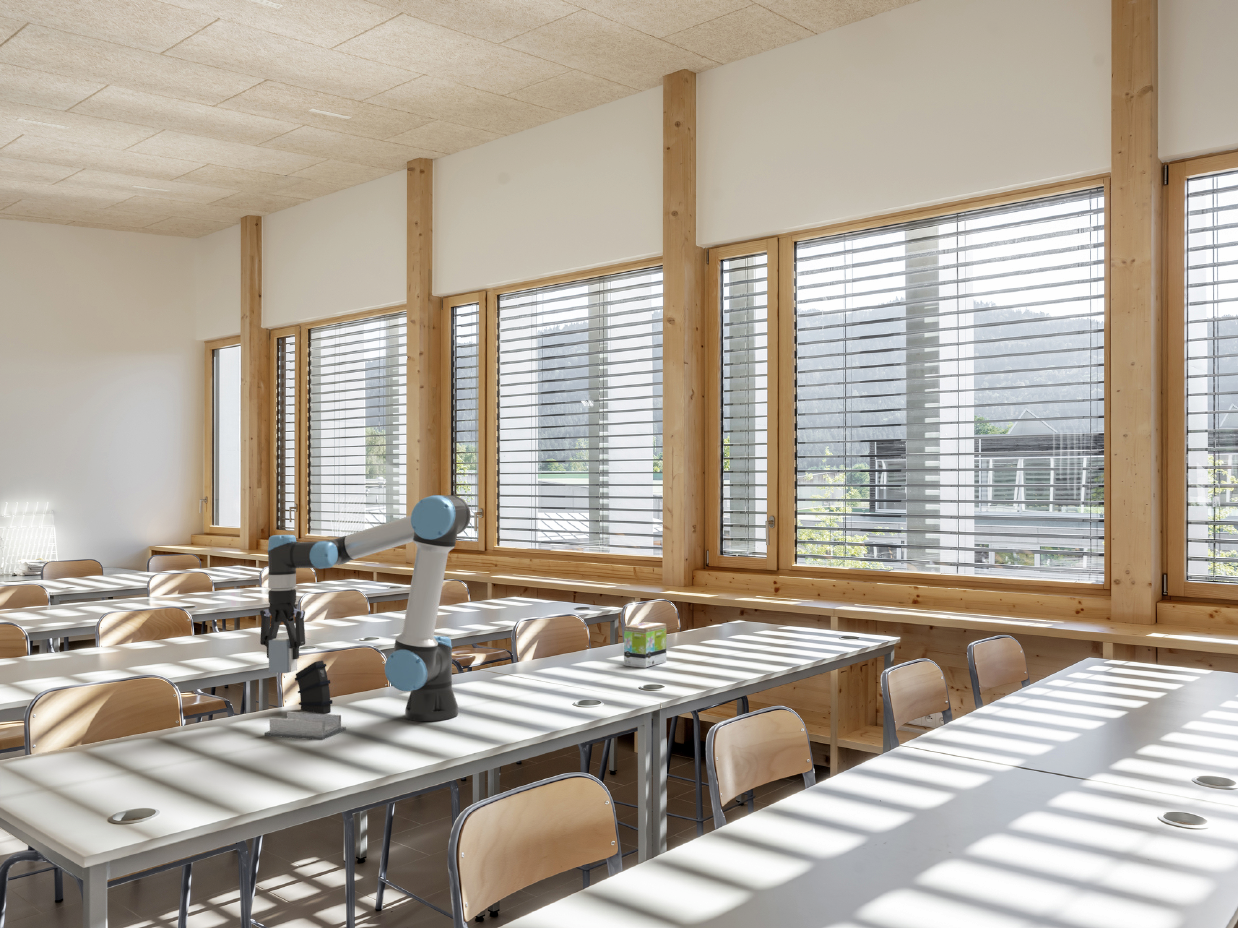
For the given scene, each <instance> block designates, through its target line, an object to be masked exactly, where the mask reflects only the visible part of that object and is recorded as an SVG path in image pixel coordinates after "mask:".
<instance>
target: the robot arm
mask: <svg viewBox="0 0 1238 928" xmlns="http://www.w3.org/2000/svg"><path fill="white" fill-rule="evenodd" d="M471 518H472V517H471V510H470V507H469V505H468V503H467V502H466V501H465V500H464V499H463V498H462V497H459V496H457V495H452V494H447V495H438V494H433V495H430V496H426V497H424V498H422V499H421V500H419V501H418V502H417V503H416V504H415V505H414V506H413V509H412V511H411V515H408V516H404V517H401V518H399V519H395V520H392V521H390V522H386V523H383V524H378V525H375V526H373V527H370V528H369V527H368V528H366V529H362V530H359V531H356V532H353V533H350V534H347V535H344V536H339V537H337V538H334V539H328V540H327V539H326V540H318V541H317V540H316V541H297V539H296V536H295V535H294V534H275V535H271V536H269V538H268V543H267V546H268V547H267V559H268V561H267V562H268V574H267V577H268V578H267V582H268V583H267V585H268V587H267V588H268V589H269V591H268V592H267V593H268V594H267V595H268V596H267V597H268V598H267V599H268V601H267V602H268V603H269V606H268V608H267V609H262V610H260V611H259V615H260V620H261V622H260V643H259V644H260V645H262V646H264V647H266V659H269V640H273V639H275V638H278V632H279V629H280V625H282V623H283V626H285V629H286V633H287V636H288V637H287V638H289V640H290V644H291V647H290V648H289V673H293V672H295V670H296V671H297V670H298V659H299V658H300V647H301V646H302V647H303V646H305V645H306V633H305V630H306V629H305V615H306V611H305V610H304V609H301V610H300V609H298V607H296V601H297V590H296V587H297V569H319V570H322V569H330V568H333V567H334V566H337V565H338V566H339V565H343V564H346V563H349V562H351V561H354V560H356V559H360V558H363V557H366V556H370V555H373V554H376V553H379V552H384V551H387V550H389V549H393V548H396V547H399V546H403V545H406V544H409V543H410V544H411V543H414V544H415V545H416V553H415V554H416V555H415V558H414V559H415V560H414V565H413V570H412V578H411V583H410V588H409V593H408V599H407V605H406V611H405V617H404V621H403V622H404V623H403V628H402V632H401V633H400V634H398V635H397V636H396V638H395V641H394V645H393V652H392V653H390V654H389V656H388V657H387V659H386V660H385V663H384V674H385V676H386V679H387V681H388V682H389V683H390V685H391V687H394V689H396V690H397V691H398V690H399V691H402V692H410V693H409V696H408V699H407V703H406V706H405V711H404V712H405V713H404V715H405V716H404V717H405V719H407V720H410V721H415V722H437V721H444V720H449V719H452V718H455V717H457V716H458V715H459V705H458V702H457V699H456V697H455V693H454V690H453V676H452V675H453V663H452V662H453V660H452V659H453V656H452V655H453V651H452V650H453V646H452V640H451V637H449V636H444V635H435V629H436V624H437V620H438V613H439V608H440V602H441V596H442V591H443V586H444V585H443V584H444V581H445V580H444V579H445V575H446V574H445V572H446V567H447V561H448V556H449V553H450V551H452V550H454V548H455V547H456V543H457V538H458V535H460V534H461V533H462V532H464V531H465V530H467V527H468V526H469V524H470V523H471V522H470V521H471ZM292 671H293V672H292Z"/></svg>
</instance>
